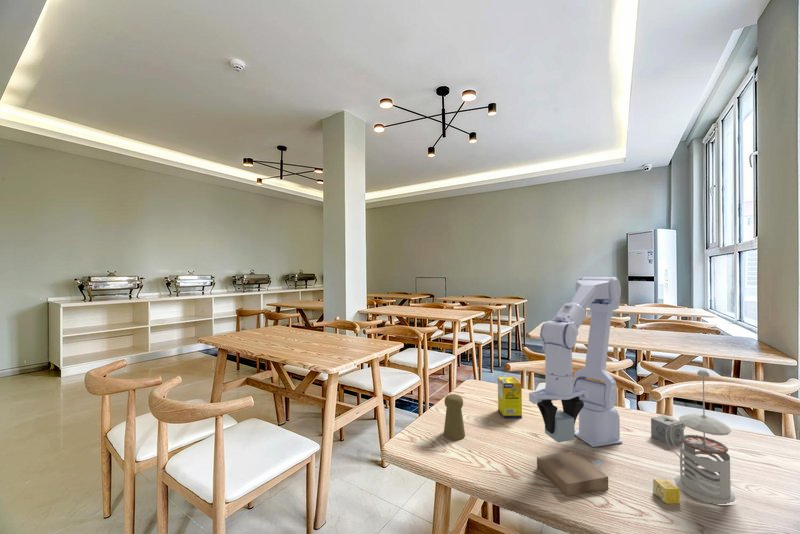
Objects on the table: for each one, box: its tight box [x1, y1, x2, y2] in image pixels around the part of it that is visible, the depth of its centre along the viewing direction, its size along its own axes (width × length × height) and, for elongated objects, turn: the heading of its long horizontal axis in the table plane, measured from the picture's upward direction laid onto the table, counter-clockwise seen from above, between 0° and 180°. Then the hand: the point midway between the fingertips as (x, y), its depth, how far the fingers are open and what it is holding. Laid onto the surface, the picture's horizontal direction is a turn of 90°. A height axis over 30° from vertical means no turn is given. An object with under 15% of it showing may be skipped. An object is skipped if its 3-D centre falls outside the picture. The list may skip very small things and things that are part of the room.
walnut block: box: [536, 451, 609, 498], centre depth 74 cm, size 10×10×3 cm
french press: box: [666, 369, 736, 505], centre depth 70 cm, size 10×12×25 cm
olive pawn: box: [443, 393, 466, 441], centre depth 94 cm, size 6×6×11 cm
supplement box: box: [497, 376, 523, 419], centre depth 106 cm, size 6×6×11 cm
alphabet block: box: [652, 478, 681, 504], centre depth 67 cm, size 3×3×3 cm
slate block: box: [544, 409, 576, 443], centre depth 78 cm, size 4×4×5 cm
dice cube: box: [650, 414, 685, 446], centre depth 90 cm, size 5×5×5 cm
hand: (559, 430), depth 78 cm, fingers closed on slate block, 4 cm apart
